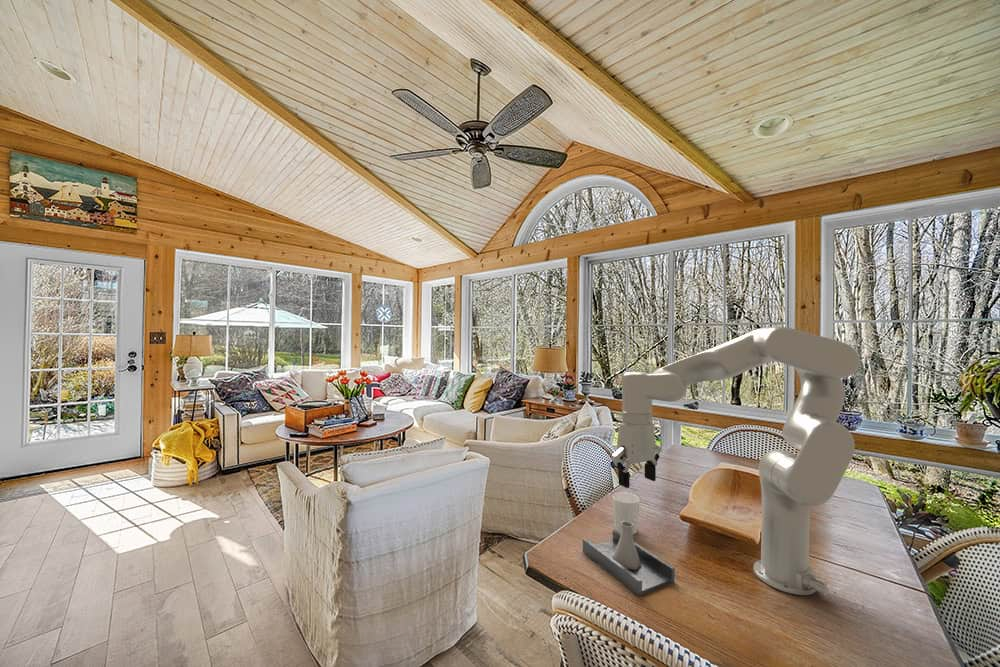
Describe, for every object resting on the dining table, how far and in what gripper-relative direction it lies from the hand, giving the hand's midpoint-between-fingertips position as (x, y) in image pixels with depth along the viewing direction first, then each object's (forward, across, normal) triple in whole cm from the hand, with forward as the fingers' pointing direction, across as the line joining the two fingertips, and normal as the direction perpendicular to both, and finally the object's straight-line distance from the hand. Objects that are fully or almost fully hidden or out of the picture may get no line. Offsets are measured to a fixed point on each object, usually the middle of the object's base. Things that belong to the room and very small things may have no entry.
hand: (637, 482), depth 102 cm
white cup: (+21, -10, -14) cm, 27 cm away
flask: (+20, +4, 0) cm, 21 cm away
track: (+21, +4, 0) cm, 21 cm away
